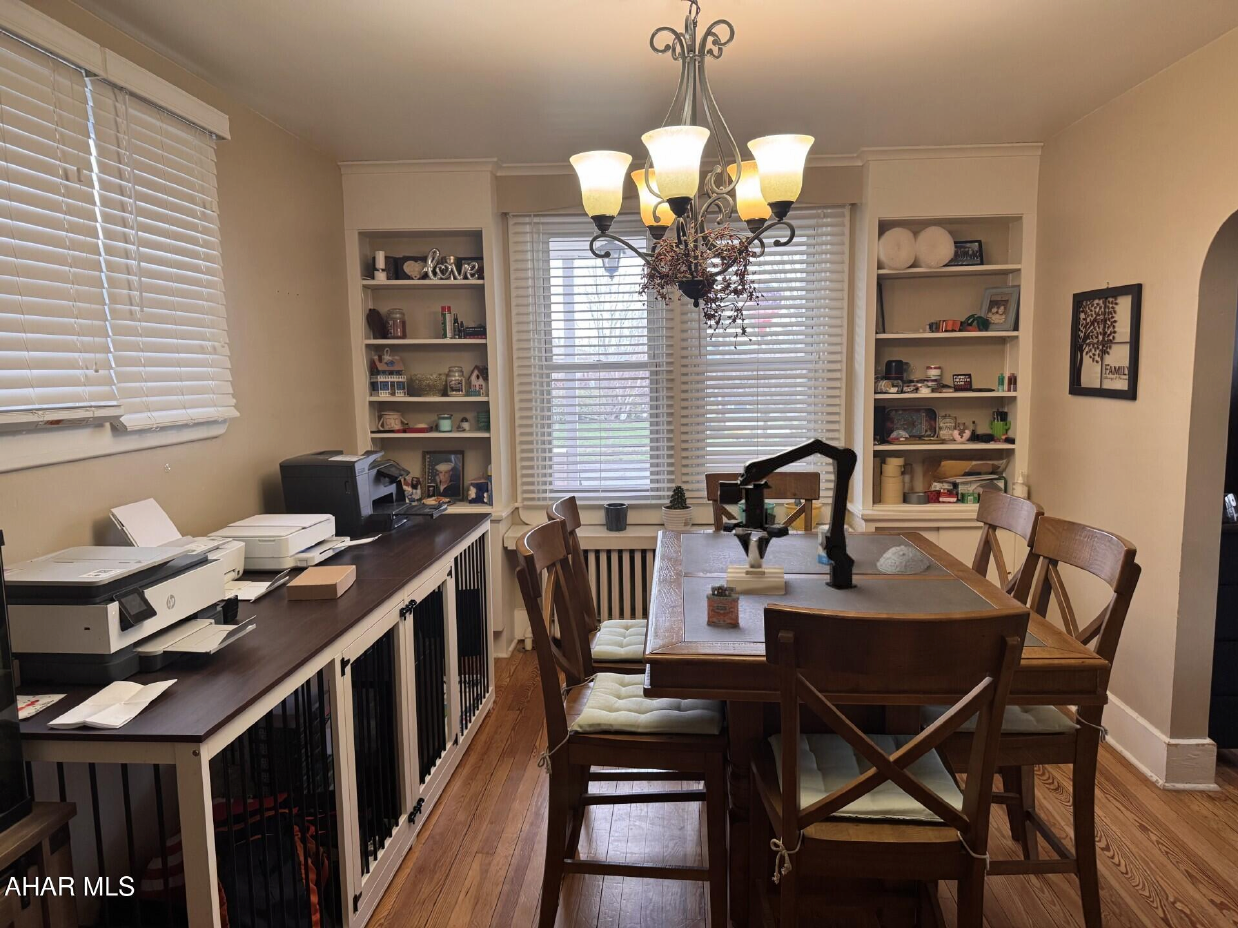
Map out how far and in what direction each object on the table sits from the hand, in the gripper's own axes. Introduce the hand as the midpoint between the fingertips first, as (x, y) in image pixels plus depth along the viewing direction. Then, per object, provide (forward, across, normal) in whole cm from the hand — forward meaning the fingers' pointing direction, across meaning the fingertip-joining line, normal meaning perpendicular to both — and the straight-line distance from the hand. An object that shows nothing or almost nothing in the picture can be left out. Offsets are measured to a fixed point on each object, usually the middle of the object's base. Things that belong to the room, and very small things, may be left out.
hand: (755, 558), depth 226 cm
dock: (+8, 0, 0) cm, 8 cm away
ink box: (+9, -5, -40) cm, 41 cm away
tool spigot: (+2, 0, 0) cm, 2 cm away
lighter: (+8, -12, +36) cm, 38 cm away
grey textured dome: (+9, -25, -48) cm, 54 cm away
